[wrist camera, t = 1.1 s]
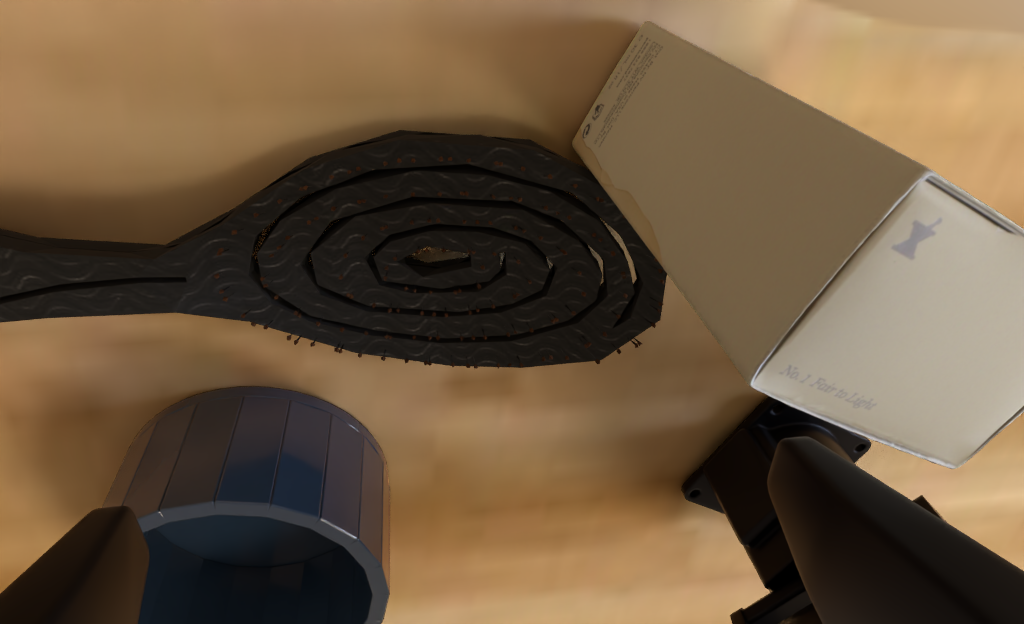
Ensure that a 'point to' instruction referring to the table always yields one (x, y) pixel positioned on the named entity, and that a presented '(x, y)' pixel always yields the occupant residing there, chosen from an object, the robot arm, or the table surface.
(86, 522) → the robot arm
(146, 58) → the table surface
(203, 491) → the crock
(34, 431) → the table surface
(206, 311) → the hairbrush
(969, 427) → the cosmetic box
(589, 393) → the table surface
